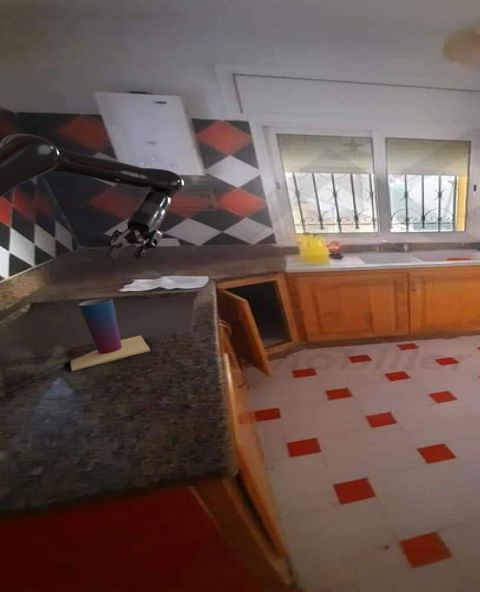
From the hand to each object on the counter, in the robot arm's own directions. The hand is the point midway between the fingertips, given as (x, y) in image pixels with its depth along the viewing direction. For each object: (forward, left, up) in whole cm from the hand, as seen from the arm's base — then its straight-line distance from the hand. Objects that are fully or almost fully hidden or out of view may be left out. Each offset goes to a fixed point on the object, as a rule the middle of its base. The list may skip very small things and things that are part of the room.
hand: (124, 257), depth 98 cm
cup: (-1, -11, -26) cm, 29 cm away
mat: (-1, -12, -26) cm, 29 cm away
